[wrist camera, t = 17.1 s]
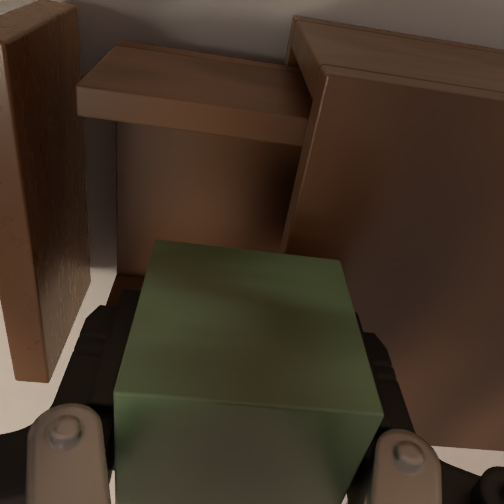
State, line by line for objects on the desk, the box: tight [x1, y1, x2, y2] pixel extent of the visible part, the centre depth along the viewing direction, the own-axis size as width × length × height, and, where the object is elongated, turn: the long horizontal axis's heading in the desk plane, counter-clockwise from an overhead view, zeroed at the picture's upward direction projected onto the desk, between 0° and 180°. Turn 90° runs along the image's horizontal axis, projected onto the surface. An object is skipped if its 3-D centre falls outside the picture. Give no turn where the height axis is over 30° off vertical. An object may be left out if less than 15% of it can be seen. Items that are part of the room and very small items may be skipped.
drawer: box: [0, 0, 313, 383], centre depth 17 cm, size 20×12×6 cm, turn 81°
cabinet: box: [279, 16, 504, 451], centre depth 18 cm, size 16×13×8 cm
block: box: [113, 239, 384, 504], centre depth 11 cm, size 5×5×5 cm
